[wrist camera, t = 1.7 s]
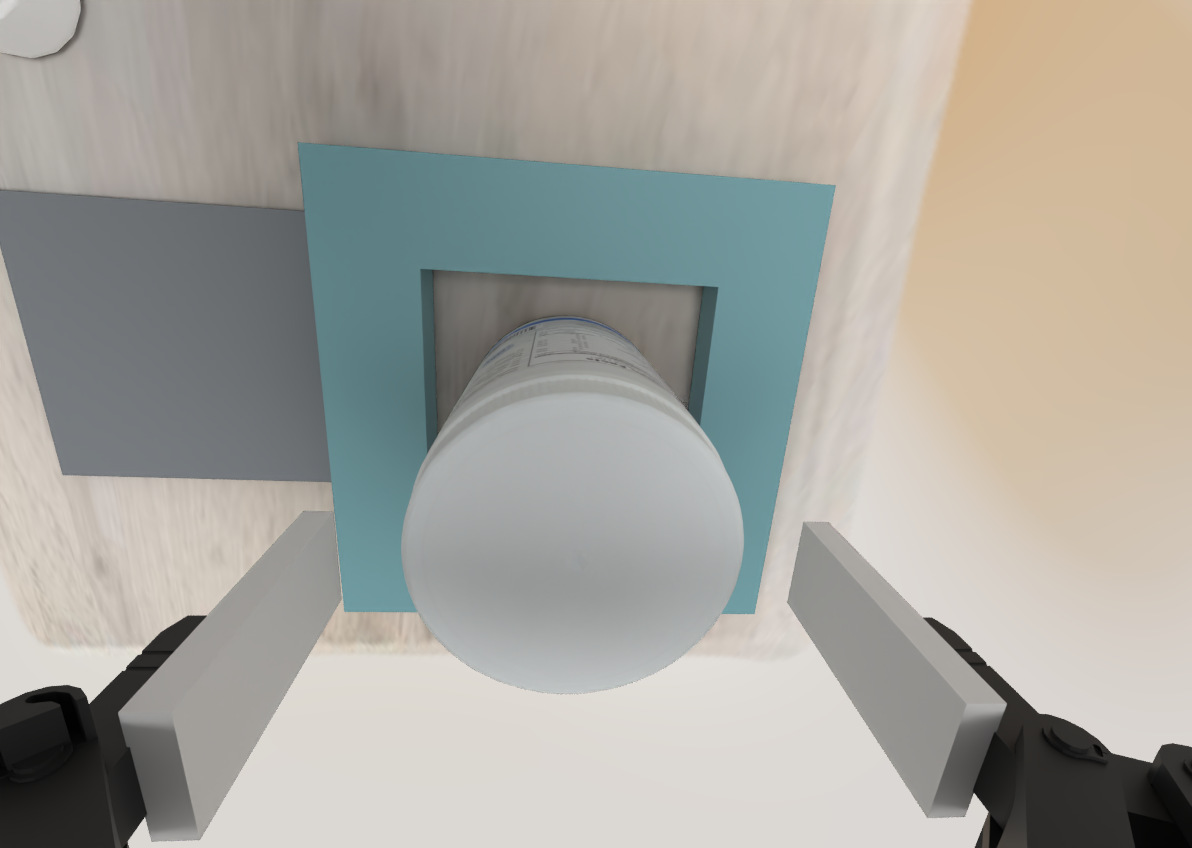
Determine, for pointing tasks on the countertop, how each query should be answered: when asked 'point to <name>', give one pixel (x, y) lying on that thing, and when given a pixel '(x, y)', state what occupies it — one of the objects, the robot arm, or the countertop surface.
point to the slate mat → (169, 336)
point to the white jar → (37, 26)
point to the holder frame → (552, 249)
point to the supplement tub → (570, 516)
